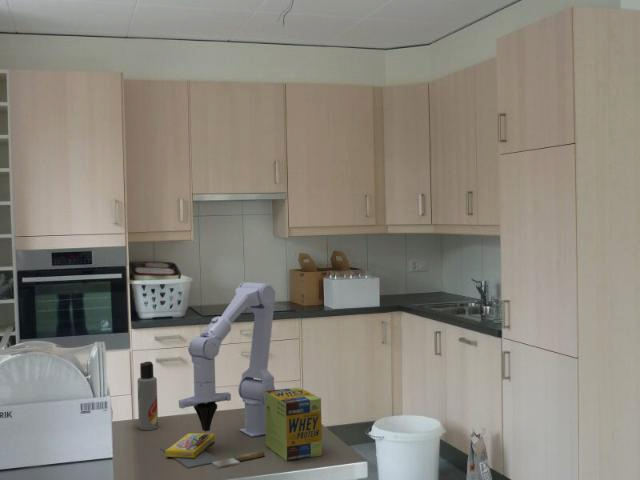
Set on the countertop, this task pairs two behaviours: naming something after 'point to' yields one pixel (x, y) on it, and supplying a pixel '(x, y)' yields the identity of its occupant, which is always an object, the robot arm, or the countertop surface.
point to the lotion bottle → (147, 398)
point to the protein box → (293, 423)
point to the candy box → (190, 445)
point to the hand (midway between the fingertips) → (205, 430)
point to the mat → (194, 459)
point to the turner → (237, 459)
